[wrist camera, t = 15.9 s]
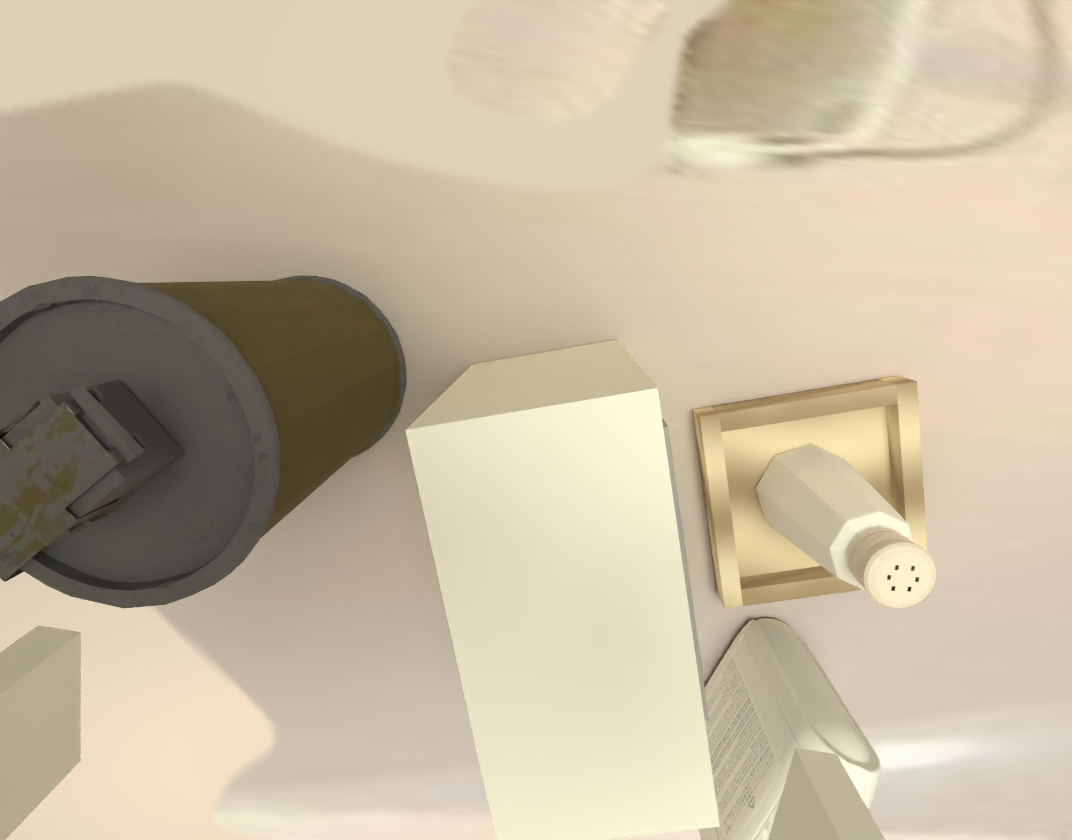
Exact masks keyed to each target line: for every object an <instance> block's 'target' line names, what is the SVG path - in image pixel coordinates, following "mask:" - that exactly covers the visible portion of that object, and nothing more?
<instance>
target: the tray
mask: <svg viewBox="0 0 1072 840" xmlns="http://www.w3.org/2000/svg"><path fill="white" fill-rule="evenodd" d="M693 416H694V424H695V431H696V439H697V446H698V454H699V462H700V469H701V477H702V484H703V492H704V499H705V507H706V515H707V522H708V530H709V537H710V545H711V552H712V560H713V567H714V575H715V583H716V590H717V594H718V596H719V598H720V600H721V602H722V604H723V606H724V608H725V609H726V608H733V607H740V606H748V605H755V604H762V603H769V602H776V601H783V600H790V599H797V598H804V597H812V596H819V595H826V594H833V593H840V592H847V591H854V590H861V589H860V588H858V587H856V586H854V585H852V584H850V583H848V582H845V581H843V580H841V579H839V578H838V577H836V576H835V575H833V574H831V573H830V572H829V571H827V570H826V569H825V568H823V567H822V566H821V565H820V564H818V563H817V562H816V561H815V560H813V559H812V558H811V557H809V556H808V555H807V554H806V553H804V552H803V551H802V550H800V549H799V548H798V547H797V546H795V545H794V544H793V543H792V542H790V541H789V540H788V539H786V538H785V537H784V536H783V535H781V534H780V533H779V532H778V531H776V530H775V529H774V528H772V527H771V526H770V525H769V524H767V523H766V521H765V518H764V514H763V511H762V508H761V505H760V501H759V498H758V495H757V492H756V487H757V485H758V484H759V482H760V480H761V478H762V477H763V475H764V473H765V471H766V470H767V468H768V466H769V464H770V463H771V461H772V459H773V457H774V456H775V455H778V454H781V453H784V452H788V451H791V450H794V449H797V448H800V447H803V446H806V445H809V444H814V445H816V446H818V447H820V448H822V449H824V450H827V451H829V452H831V453H833V454H835V455H837V456H839V457H841V458H843V459H845V460H847V461H848V462H849V463H850V464H851V465H852V466H853V468H854V469H855V470H856V471H857V472H858V473H859V474H860V475H861V476H862V477H863V478H864V479H865V480H866V481H867V482H868V483H869V484H870V485H871V486H872V487H873V488H874V489H875V490H876V491H877V492H878V493H879V494H880V495H881V496H882V497H883V498H884V499H885V500H886V501H887V502H888V503H889V504H890V505H891V506H892V507H893V508H894V509H895V510H896V511H897V512H898V513H899V514H900V515H901V516H902V517H903V519H904V520H905V521H906V522H907V524H908V525H909V528H910V532H911V536H912V540H913V543H915V544H917V545H919V546H921V547H923V548H924V549H925V550H926V551H927V537H926V521H925V505H924V489H923V473H922V457H921V441H920V425H919V409H918V393H917V382H916V381H913V380H910V379H906V378H903V377H900V376H894V377H888V378H881V379H875V380H869V381H863V382H857V383H851V384H845V385H839V386H833V387H826V388H820V389H814V390H808V391H802V392H796V393H790V394H784V395H777V396H771V397H765V398H759V399H753V400H747V401H741V402H735V403H729V404H722V405H716V406H710V407H704V408H698V409H693Z"/></svg>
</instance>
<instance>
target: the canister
mask: <svg viewBox="0 0 1072 840" xmlns="http://www.w3.org/2000/svg"><path fill="white" fill-rule="evenodd" d="M405 385H406V374H405V360H404V357H403V353H402V350H401V346H400V343H399V340H398V336H397V334H396V333H395V331H394V330H393V328H392V326H391V325H390V323H389V322H388V321H387V319H386V318H385V317H384V315H383V314H382V313H381V311H380V310H379V309H378V308H377V307H376V306H375V305H374V304H373V303H372V302H371V301H370V300H369V299H368V298H367V297H366V296H365V295H363V294H361V293H359V292H358V291H356V290H354V289H352V288H350V287H348V286H347V285H345V284H342V283H340V282H338V281H335V280H332V279H328V278H323V277H317V276H294V277H288V278H284V279H280V280H275V281H236V282H174V283H135V282H129V281H123V280H117V279H112V278H105V277H95V276H81V277H67V278H62V279H58V280H54V281H49V282H45V283H41V284H36V285H32V286H28V287H26V288H25V289H23V290H21V291H19V292H17V293H15V294H13V295H12V296H10V297H8V298H6V299H4V300H2V301H1V302H0V578H1V579H2V580H3V581H7V580H9V579H11V578H13V577H15V576H16V575H18V574H20V573H22V572H26V573H28V574H29V575H31V576H32V577H34V578H36V579H38V580H39V581H40V582H42V583H44V584H45V585H47V586H49V587H51V588H54V589H56V590H58V591H60V592H62V593H64V594H67V595H69V596H71V597H76V598H81V599H85V600H89V601H94V602H98V603H103V604H107V605H112V606H116V607H121V608H132V607H143V606H154V605H165V604H168V603H171V602H174V601H177V600H180V599H183V598H185V597H188V596H191V595H193V594H195V593H197V592H200V591H202V590H204V589H206V588H208V587H210V586H212V585H214V584H216V583H217V582H219V581H220V580H221V579H223V578H224V577H226V576H227V575H228V574H230V573H231V572H232V571H233V570H234V569H235V568H236V567H238V566H239V565H240V564H241V563H242V562H243V561H244V560H245V558H246V557H247V556H248V554H249V553H250V552H251V550H252V549H253V548H254V546H255V545H256V544H257V542H258V541H259V539H260V538H261V537H262V536H263V535H265V534H266V533H267V532H268V531H269V530H270V529H271V528H272V527H274V526H275V525H276V524H277V523H278V522H279V521H280V520H282V519H283V518H284V517H285V516H286V515H287V514H288V513H289V512H291V511H292V510H293V509H294V508H295V507H296V506H297V505H299V504H300V503H301V502H302V501H303V500H304V499H305V498H306V497H308V496H309V495H310V494H311V493H312V492H313V491H314V490H315V489H317V488H318V487H319V486H320V485H321V484H322V483H323V482H325V481H326V480H327V479H328V478H329V477H330V476H331V475H332V474H334V473H335V472H336V471H337V470H338V469H339V468H340V467H342V466H343V465H344V464H345V463H346V462H347V461H348V460H349V459H351V458H352V457H354V456H357V455H358V454H360V453H362V452H364V451H365V450H367V449H369V448H370V447H371V446H373V445H374V444H375V443H376V442H377V441H379V440H380V439H381V438H382V437H383V435H384V434H385V433H386V432H387V431H388V430H389V428H390V427H391V425H392V423H393V422H394V420H395V418H396V417H397V415H398V413H399V411H400V407H401V403H402V398H403V394H404V390H405Z"/></svg>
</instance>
